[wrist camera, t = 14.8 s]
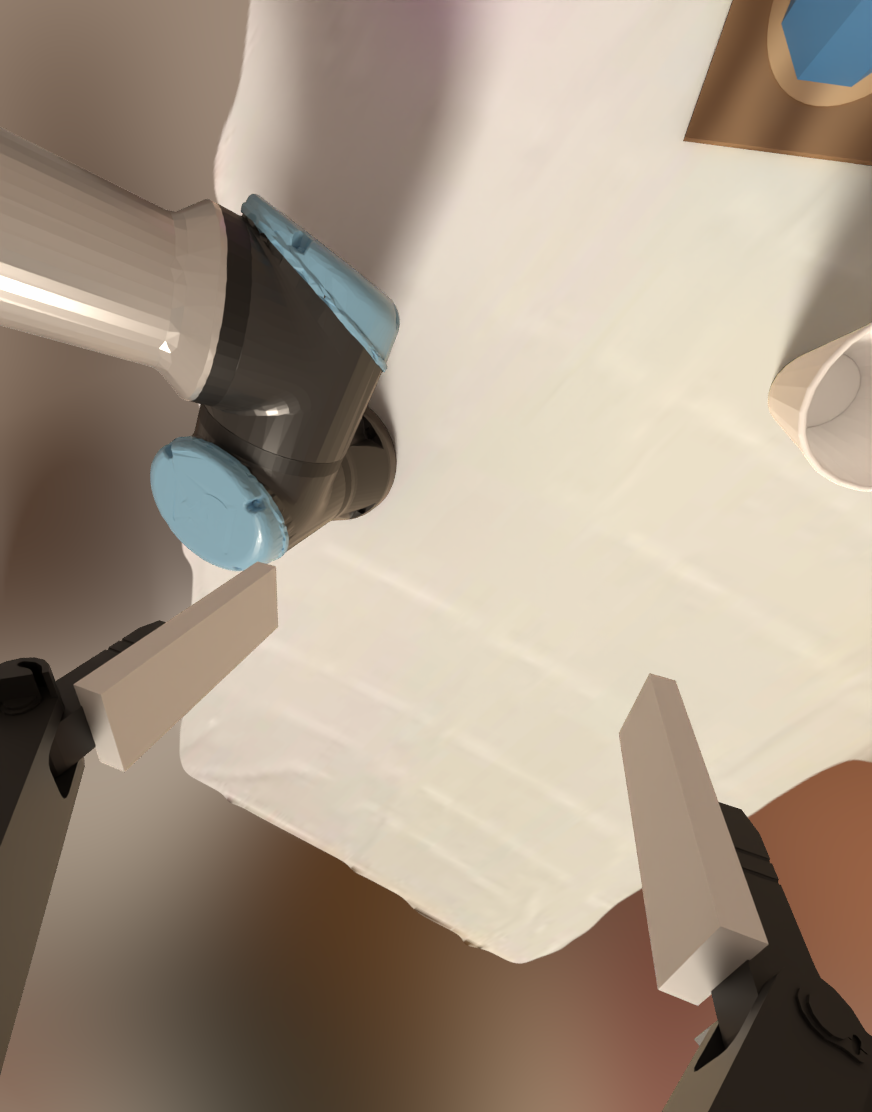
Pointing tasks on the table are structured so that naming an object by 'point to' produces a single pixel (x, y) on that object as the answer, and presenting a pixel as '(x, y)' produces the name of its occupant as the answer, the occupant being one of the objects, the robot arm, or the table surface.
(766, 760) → the table surface
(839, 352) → the cup
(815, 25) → the water bottle
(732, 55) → the plate
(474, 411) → the table surface
